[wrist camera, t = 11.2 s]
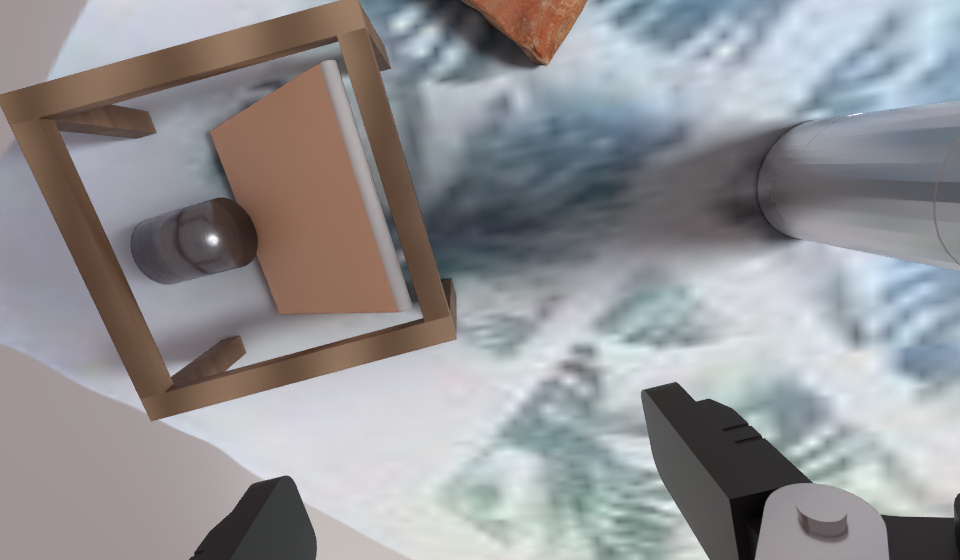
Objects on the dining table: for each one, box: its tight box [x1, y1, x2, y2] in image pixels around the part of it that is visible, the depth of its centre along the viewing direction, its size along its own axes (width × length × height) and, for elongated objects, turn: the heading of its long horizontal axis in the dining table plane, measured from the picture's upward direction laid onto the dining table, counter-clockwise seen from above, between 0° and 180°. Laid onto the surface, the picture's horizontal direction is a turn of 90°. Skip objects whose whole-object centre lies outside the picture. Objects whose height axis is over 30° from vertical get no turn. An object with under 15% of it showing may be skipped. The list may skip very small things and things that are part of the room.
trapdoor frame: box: [0, 0, 457, 421], centre depth 31 cm, size 19×19×10 cm
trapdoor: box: [210, 60, 413, 314], centre depth 31 cm, size 14×14×1 cm
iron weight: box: [131, 198, 258, 285], centre depth 33 cm, size 5×5×6 cm
